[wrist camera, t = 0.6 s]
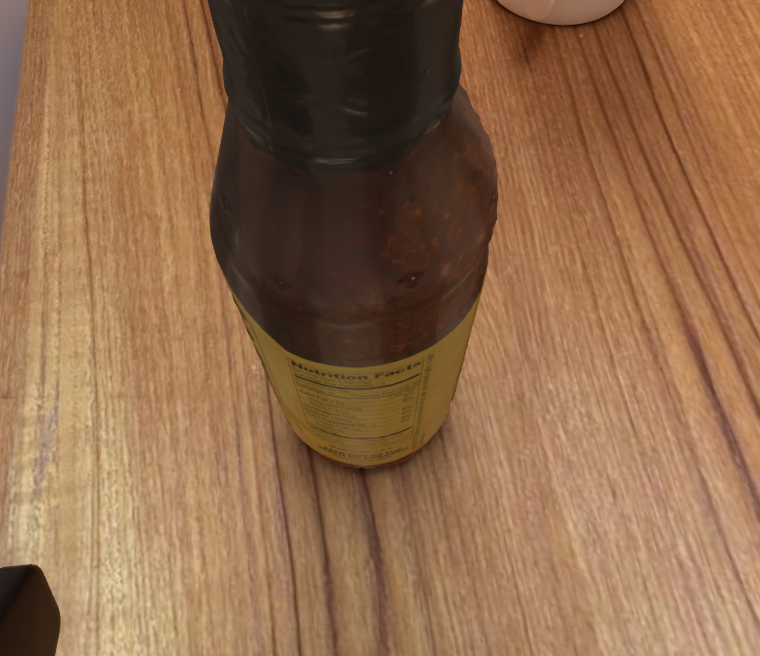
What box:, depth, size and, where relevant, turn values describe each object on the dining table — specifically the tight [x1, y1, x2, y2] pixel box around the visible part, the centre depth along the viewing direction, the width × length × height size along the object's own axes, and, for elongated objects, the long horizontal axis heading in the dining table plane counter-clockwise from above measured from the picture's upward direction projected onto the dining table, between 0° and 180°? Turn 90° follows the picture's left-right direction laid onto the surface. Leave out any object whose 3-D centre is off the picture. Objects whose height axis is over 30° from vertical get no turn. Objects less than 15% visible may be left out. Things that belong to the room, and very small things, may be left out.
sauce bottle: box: [208, 0, 498, 469], centre depth 16 cm, size 7×6×20 cm
